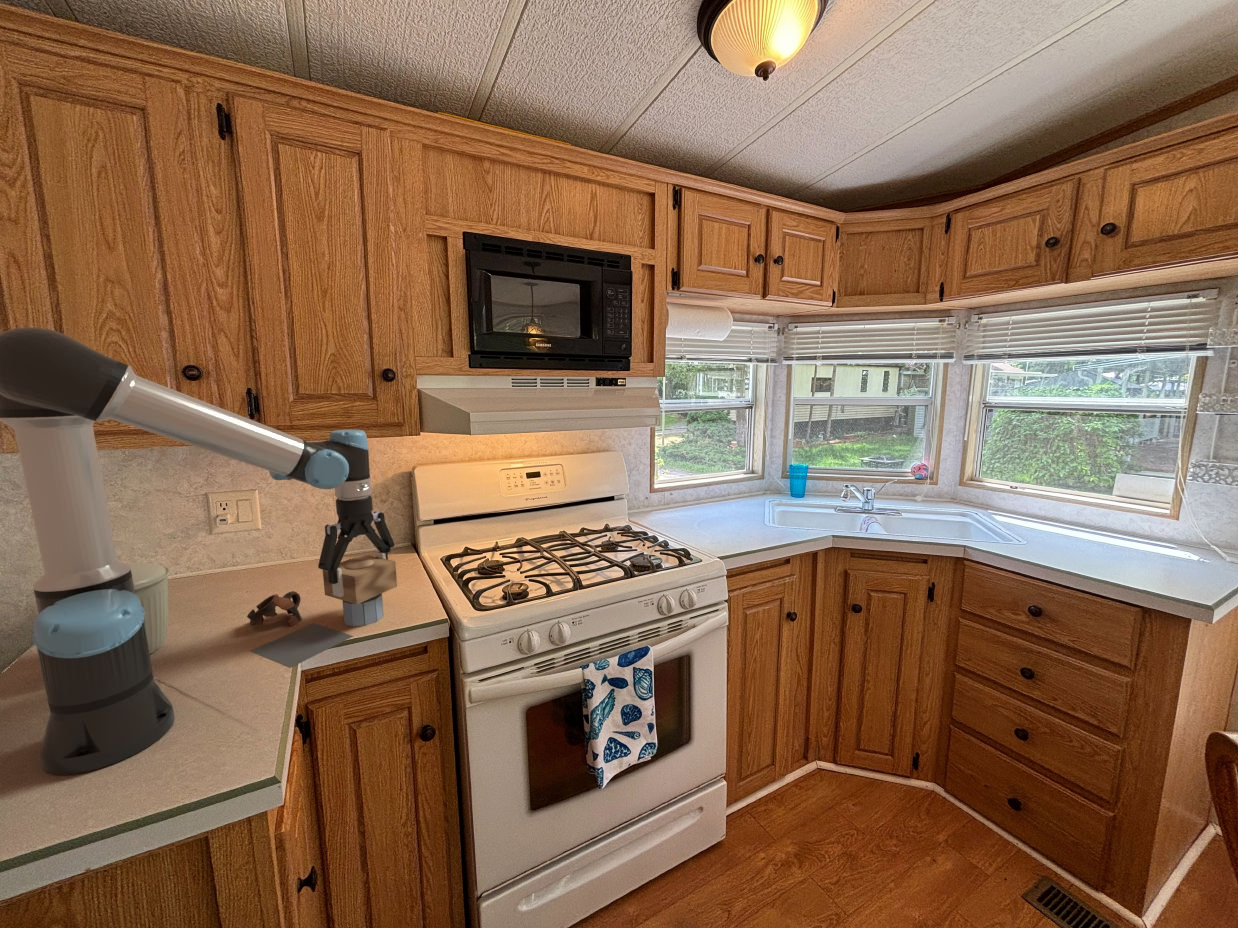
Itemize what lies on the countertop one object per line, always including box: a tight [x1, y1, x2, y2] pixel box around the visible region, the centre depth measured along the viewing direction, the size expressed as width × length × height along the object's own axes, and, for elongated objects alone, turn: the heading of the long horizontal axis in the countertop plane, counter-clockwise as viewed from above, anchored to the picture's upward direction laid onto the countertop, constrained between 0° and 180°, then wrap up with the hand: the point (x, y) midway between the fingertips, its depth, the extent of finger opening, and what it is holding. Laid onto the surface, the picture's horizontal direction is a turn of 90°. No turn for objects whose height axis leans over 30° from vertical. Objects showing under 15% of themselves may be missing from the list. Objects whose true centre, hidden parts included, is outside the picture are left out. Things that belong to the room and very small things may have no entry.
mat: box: [249, 622, 354, 669], centre depth 111 cm, size 14×14×1 cm
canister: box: [117, 558, 172, 655], centre depth 105 cm, size 18×18×21 cm
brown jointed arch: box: [246, 590, 302, 628], centre depth 121 cm, size 12×10×8 cm
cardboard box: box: [322, 553, 398, 604], centre depth 121 cm, size 11×11×7 cm
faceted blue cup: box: [341, 593, 385, 627], centre depth 122 cm, size 8×9×6 cm
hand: (361, 586), depth 121 cm, fingers closed on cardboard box, 11 cm apart
